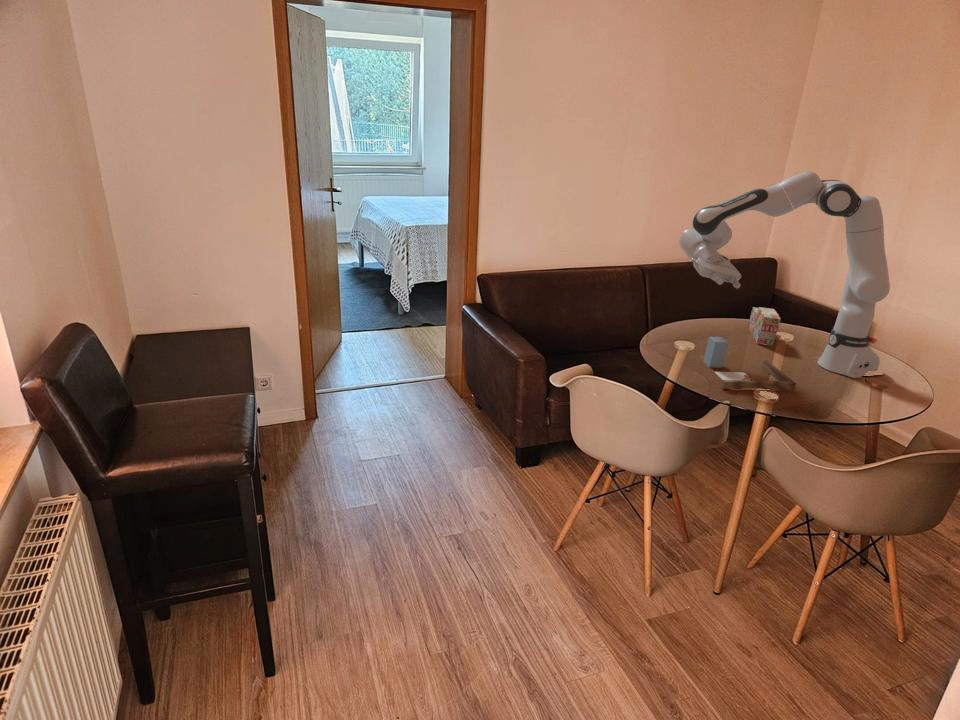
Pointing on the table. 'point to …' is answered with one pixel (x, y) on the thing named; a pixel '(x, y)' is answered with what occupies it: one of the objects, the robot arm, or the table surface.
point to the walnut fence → (780, 385)
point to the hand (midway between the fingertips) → (729, 285)
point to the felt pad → (731, 375)
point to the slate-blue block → (715, 352)
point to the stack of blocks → (764, 325)
